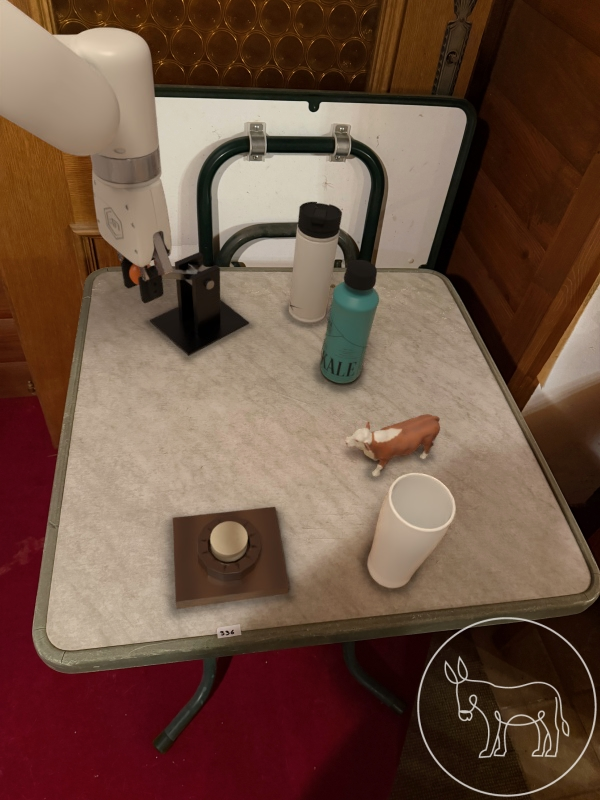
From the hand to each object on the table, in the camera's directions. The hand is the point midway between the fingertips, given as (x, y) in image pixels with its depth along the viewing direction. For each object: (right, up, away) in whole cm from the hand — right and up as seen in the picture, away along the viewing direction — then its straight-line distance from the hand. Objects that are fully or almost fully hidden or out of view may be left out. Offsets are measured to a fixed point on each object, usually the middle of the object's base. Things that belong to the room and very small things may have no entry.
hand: (144, 290), depth 77 cm
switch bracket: (+5, -3, +13) cm, 15 cm away
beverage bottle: (+27, -11, +9) cm, 31 cm away
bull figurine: (+33, -24, -1) cm, 41 cm away
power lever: (+3, +1, +3) cm, 4 cm away
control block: (+13, -33, -13) cm, 38 cm away
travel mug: (+22, -1, +18) cm, 29 cm away
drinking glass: (+32, -35, -11) cm, 48 cm away
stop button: (+14, -31, -15) cm, 37 cm away
